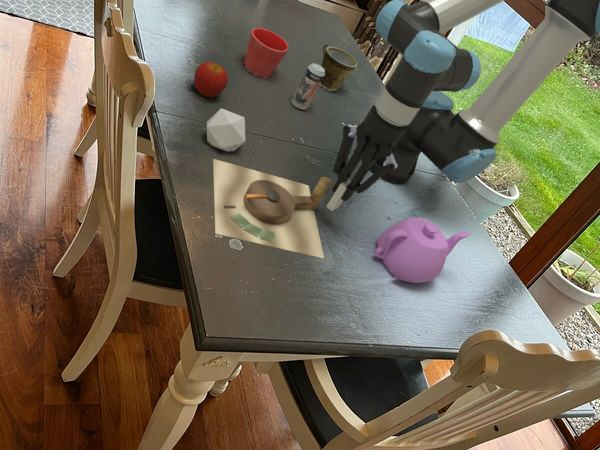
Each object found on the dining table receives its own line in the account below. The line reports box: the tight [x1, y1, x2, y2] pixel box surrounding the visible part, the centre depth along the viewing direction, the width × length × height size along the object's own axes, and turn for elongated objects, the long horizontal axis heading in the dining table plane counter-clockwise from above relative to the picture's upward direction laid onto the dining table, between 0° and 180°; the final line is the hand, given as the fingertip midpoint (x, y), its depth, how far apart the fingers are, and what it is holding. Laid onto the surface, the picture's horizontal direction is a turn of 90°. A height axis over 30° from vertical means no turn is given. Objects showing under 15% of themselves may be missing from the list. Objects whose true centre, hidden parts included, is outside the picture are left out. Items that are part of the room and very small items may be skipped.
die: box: [206, 107, 246, 152], centre depth 123 cm, size 8×9×10 cm
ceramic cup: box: [321, 44, 358, 91], centre depth 169 cm, size 13×10×10 cm
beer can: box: [291, 62, 325, 110], centre depth 151 cm, size 5×5×12 cm
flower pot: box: [243, 27, 290, 78], centre depth 156 cm, size 11×11×10 cm
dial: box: [244, 176, 333, 224], centre depth 115 cm, size 18×10×7 cm, turn 119°
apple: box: [194, 61, 229, 98], centre depth 136 cm, size 8×8×8 cm
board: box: [212, 158, 325, 260], centre depth 115 cm, size 22×22×1 cm
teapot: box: [374, 217, 471, 284], centre depth 120 cm, size 20×13×12 cm, turn 110°
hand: (332, 206), depth 118 cm, fingers closed
